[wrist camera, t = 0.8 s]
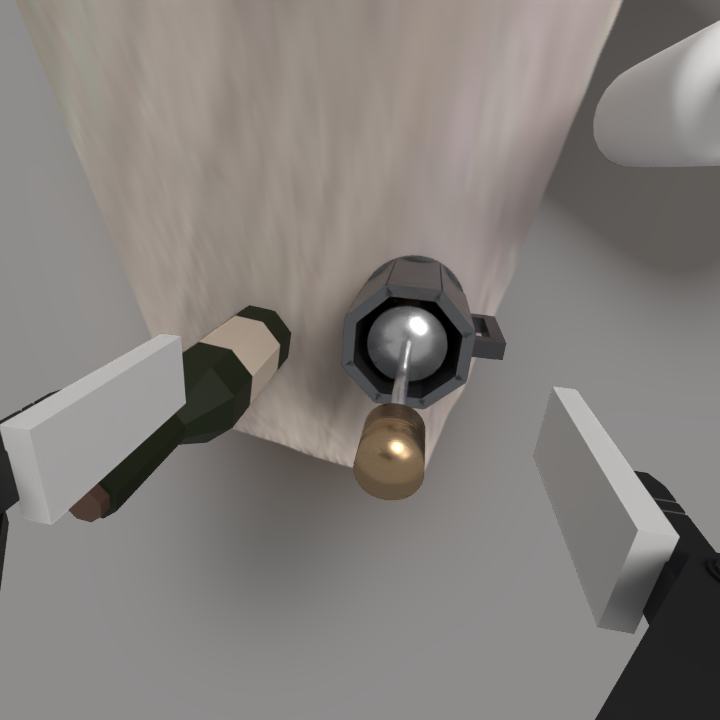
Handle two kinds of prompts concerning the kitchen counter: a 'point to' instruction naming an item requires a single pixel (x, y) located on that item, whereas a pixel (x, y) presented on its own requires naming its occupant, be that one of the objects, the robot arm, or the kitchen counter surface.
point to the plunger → (398, 401)
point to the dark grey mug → (440, 296)
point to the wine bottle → (201, 401)
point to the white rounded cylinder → (665, 107)
